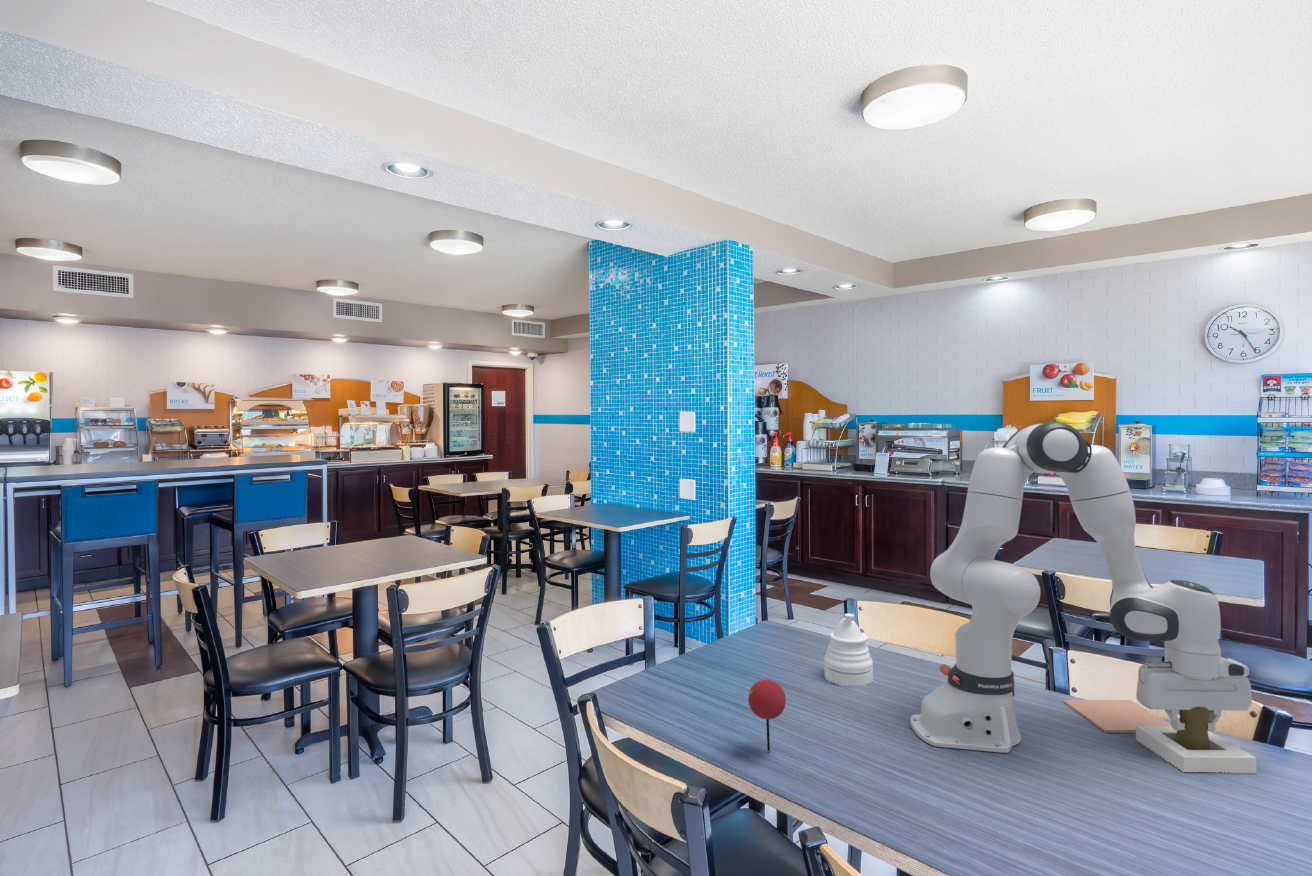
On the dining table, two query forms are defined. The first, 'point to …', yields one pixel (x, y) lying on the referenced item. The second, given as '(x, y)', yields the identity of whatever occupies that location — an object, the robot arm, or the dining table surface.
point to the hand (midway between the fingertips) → (1193, 729)
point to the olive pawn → (1194, 729)
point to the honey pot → (848, 655)
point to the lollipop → (767, 701)
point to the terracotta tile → (1115, 715)
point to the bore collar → (1196, 752)
